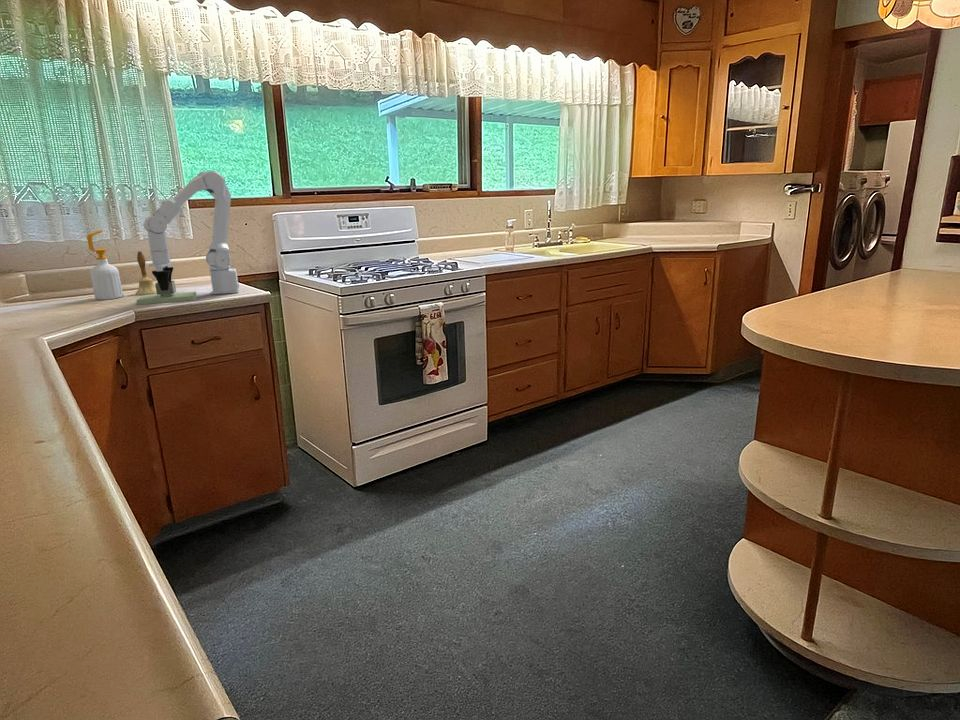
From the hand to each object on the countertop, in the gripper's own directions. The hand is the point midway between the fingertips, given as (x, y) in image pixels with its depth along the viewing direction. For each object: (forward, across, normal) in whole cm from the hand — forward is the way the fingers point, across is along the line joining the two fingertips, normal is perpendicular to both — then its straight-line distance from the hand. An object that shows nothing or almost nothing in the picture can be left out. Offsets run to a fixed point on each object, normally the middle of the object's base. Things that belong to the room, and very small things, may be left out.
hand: (166, 289), depth 219 cm
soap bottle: (+4, -15, -22) cm, 27 cm away
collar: (+1, 0, 0) cm, 1 cm away
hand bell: (+4, -20, -10) cm, 23 cm away
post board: (+4, 0, 0) cm, 4 cm away
